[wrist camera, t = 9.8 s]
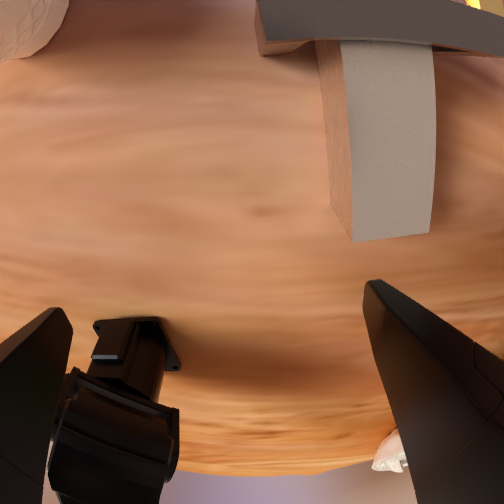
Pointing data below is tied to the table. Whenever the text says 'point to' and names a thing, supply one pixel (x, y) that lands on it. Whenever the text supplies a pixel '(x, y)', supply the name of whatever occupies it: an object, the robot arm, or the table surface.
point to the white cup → (28, 25)
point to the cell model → (390, 454)
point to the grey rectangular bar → (379, 135)
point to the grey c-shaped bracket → (383, 24)
